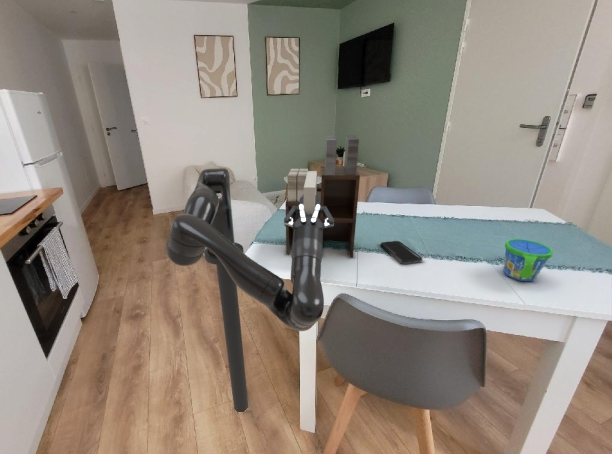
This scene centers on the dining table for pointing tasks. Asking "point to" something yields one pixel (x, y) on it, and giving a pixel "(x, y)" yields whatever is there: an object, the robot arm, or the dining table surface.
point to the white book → (310, 192)
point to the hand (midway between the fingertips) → (310, 197)
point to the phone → (401, 252)
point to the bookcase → (331, 193)
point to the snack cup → (525, 259)
